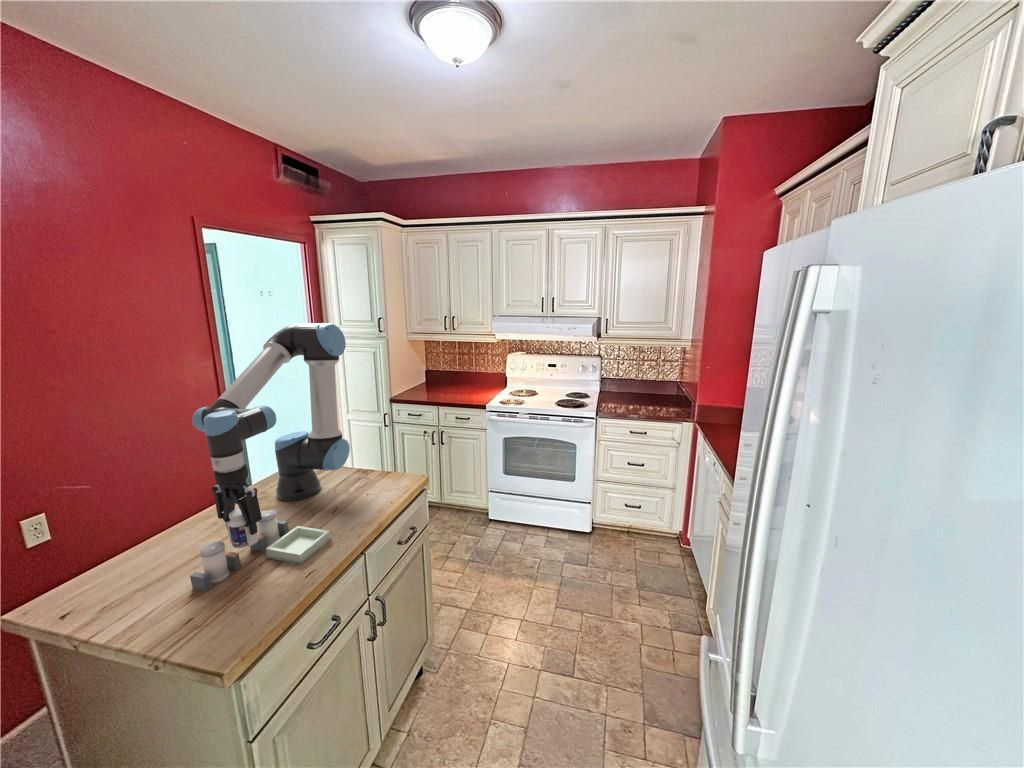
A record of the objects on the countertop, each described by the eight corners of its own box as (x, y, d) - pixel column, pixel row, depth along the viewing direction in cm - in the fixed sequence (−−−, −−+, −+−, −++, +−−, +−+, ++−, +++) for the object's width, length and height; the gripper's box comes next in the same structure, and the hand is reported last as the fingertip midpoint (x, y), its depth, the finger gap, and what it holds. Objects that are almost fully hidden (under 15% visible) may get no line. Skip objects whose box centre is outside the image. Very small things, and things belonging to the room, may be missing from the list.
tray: (298, 534, 126) (297, 525, 125) (330, 539, 123) (329, 530, 122) (267, 557, 115) (265, 548, 114) (301, 564, 112) (300, 554, 111)
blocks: (277, 530, 128) (275, 518, 127) (289, 532, 127) (287, 520, 126) (192, 589, 103) (189, 574, 102) (205, 592, 102) (202, 577, 101)
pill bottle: (244, 550, 111) (238, 518, 109) (227, 548, 112) (221, 516, 110) (261, 537, 116) (255, 507, 114) (244, 535, 118) (238, 505, 115)
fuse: (270, 534, 126) (266, 509, 124) (284, 537, 125) (280, 511, 123) (256, 544, 121) (251, 517, 119) (270, 547, 120) (265, 520, 118)
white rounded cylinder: (219, 569, 110) (214, 540, 108) (234, 572, 109) (229, 543, 107) (200, 582, 105) (194, 551, 103) (215, 585, 104) (210, 555, 102)
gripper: (190, 469, 108) (206, 544, 113) (244, 476, 103) (259, 554, 108) (216, 458, 115) (231, 529, 120) (268, 464, 110) (281, 538, 115)
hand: (244, 541), depth 114 cm, fingers closed on pill bottle, 6 cm apart
